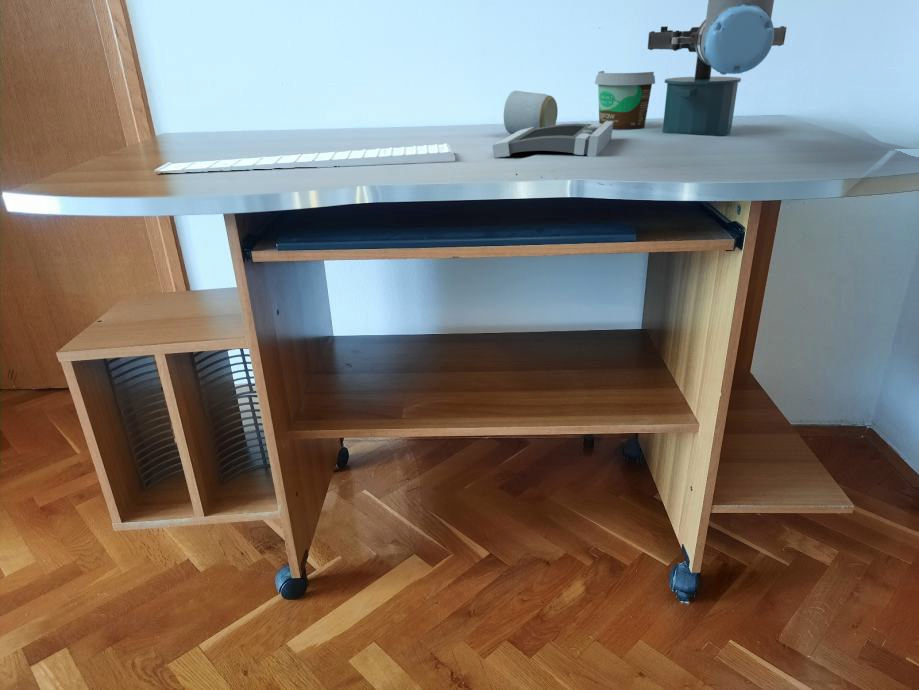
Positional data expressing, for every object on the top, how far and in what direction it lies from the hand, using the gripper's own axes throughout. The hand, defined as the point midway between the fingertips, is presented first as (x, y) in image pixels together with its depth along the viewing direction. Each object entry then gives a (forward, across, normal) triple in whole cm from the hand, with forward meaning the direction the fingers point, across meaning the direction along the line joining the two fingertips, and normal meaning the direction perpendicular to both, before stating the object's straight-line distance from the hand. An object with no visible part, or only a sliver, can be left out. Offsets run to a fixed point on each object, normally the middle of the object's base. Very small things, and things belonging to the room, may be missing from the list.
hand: (710, 37), depth 107 cm
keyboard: (-32, -60, -16) cm, 70 cm away
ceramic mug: (0, -30, -16) cm, 34 cm away
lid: (+2, 0, -7) cm, 7 cm away
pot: (+2, 0, -16) cm, 16 cm away
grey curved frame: (-18, -24, -16) cm, 34 cm away
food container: (+9, -15, -16) cm, 23 cm away
